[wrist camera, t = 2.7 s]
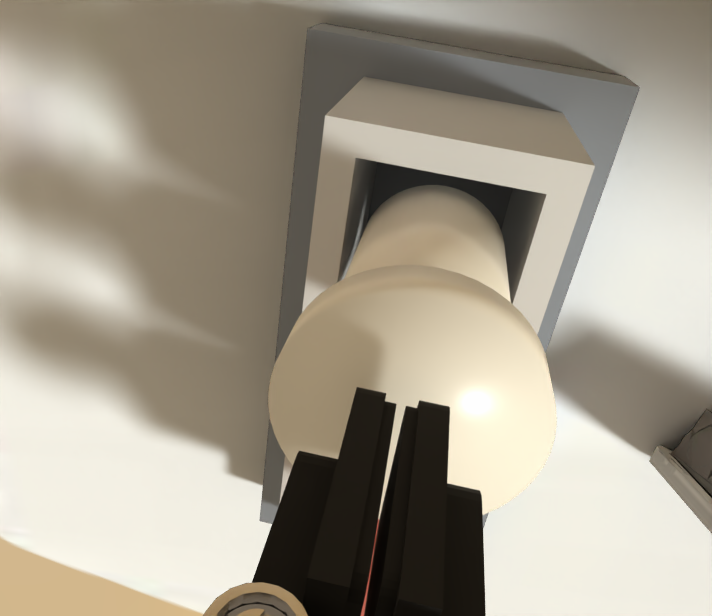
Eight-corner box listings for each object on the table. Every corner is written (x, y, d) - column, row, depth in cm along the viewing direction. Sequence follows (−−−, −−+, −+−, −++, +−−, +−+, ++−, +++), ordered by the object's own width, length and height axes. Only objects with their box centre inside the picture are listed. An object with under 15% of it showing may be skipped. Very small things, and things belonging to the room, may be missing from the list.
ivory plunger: (549, 185, 18) (599, 330, 11) (498, 348, 21) (511, 550, 13) (356, 148, 18) (279, 264, 11) (332, 313, 21) (258, 491, 14)
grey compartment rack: (624, 76, 24) (703, 133, 16) (468, 535, 37) (467, 697, 29) (321, 22, 25) (247, 50, 17) (271, 489, 38) (215, 634, 30)
